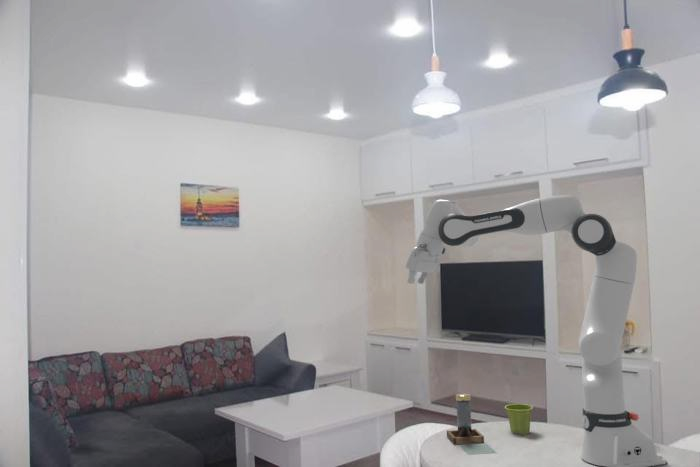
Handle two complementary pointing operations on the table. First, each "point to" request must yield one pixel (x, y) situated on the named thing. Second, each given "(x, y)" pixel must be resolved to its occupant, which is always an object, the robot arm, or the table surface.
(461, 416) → the pepper mill
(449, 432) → the tray
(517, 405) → the plant pot
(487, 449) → the mat
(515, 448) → the table surface
